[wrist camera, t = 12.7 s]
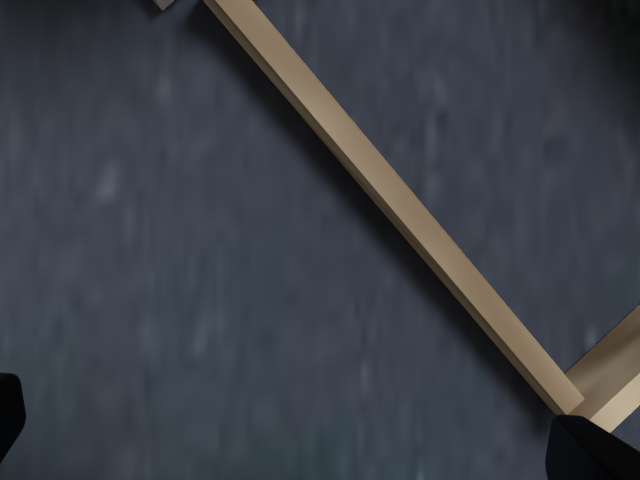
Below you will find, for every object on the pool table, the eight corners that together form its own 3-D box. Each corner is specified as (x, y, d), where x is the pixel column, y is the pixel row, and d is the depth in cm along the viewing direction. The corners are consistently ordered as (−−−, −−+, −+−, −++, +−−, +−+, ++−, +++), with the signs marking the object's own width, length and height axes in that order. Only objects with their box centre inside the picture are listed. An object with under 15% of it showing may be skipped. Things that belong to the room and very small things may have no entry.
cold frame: (553, 412, 22) (745, 549, 13) (199, -3, 20) (145, -179, 11) (803, 180, 23) (1146, 164, 14) (496, -256, 20) (682, -624, 11)
